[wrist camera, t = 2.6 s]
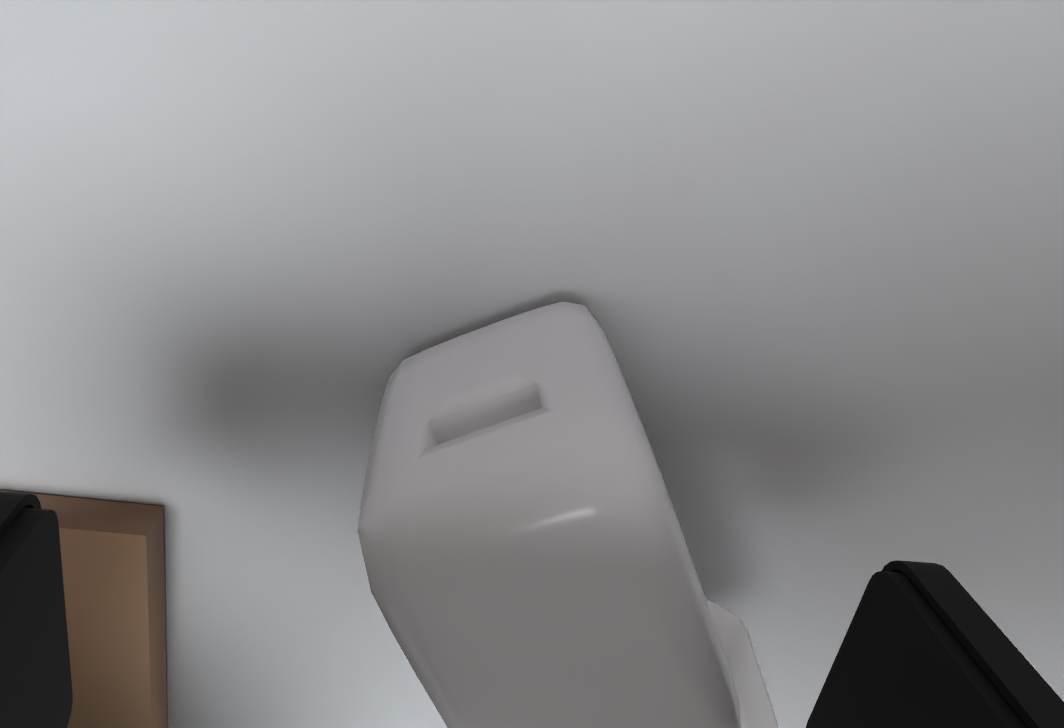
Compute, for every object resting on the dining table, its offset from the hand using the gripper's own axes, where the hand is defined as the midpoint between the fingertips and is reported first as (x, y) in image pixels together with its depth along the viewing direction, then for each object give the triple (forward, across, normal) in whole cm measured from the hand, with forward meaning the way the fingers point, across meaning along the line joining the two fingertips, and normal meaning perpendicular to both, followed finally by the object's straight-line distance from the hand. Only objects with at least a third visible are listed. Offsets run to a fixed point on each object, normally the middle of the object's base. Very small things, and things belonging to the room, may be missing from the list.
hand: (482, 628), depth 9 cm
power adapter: (+4, -2, +2) cm, 5 cm away
